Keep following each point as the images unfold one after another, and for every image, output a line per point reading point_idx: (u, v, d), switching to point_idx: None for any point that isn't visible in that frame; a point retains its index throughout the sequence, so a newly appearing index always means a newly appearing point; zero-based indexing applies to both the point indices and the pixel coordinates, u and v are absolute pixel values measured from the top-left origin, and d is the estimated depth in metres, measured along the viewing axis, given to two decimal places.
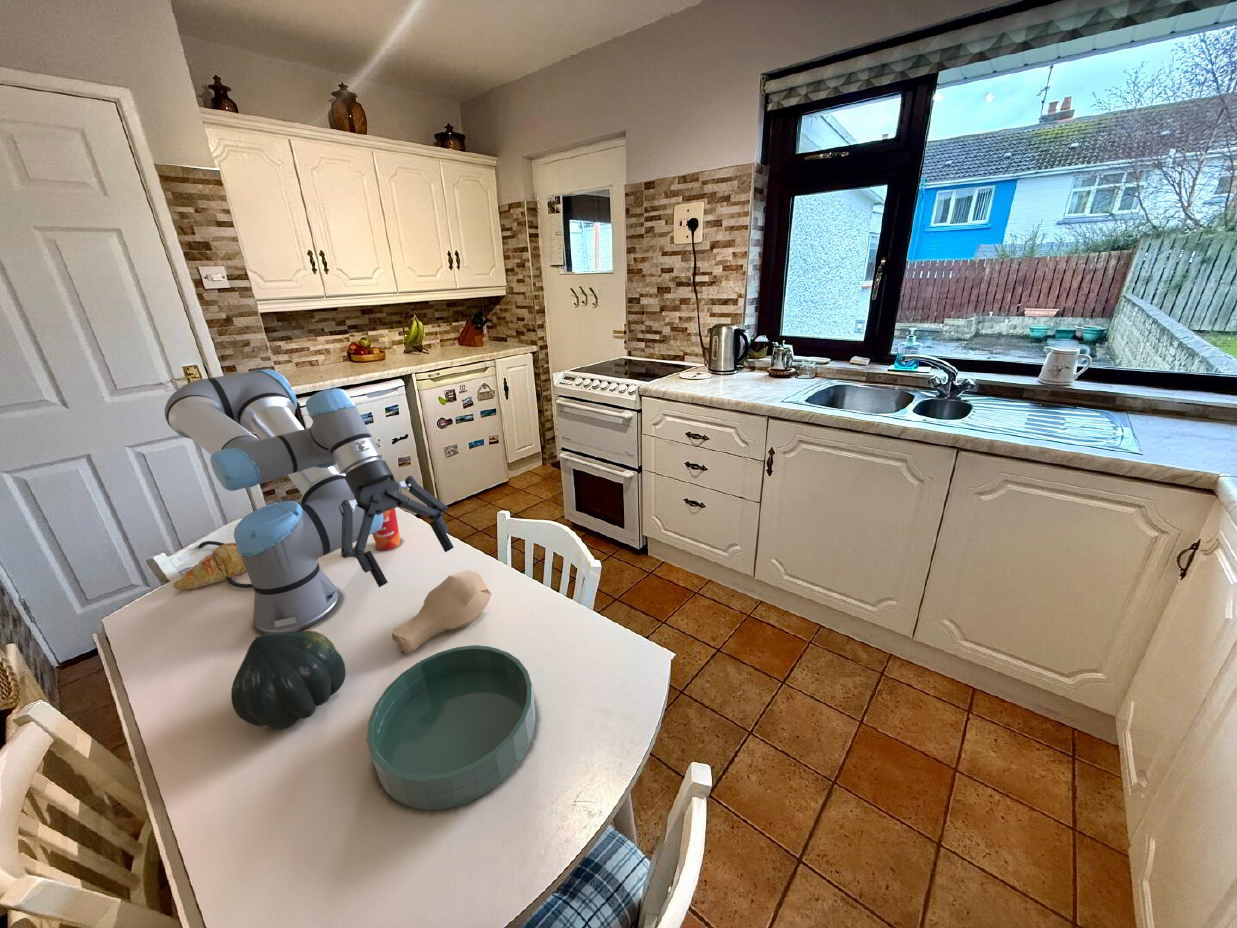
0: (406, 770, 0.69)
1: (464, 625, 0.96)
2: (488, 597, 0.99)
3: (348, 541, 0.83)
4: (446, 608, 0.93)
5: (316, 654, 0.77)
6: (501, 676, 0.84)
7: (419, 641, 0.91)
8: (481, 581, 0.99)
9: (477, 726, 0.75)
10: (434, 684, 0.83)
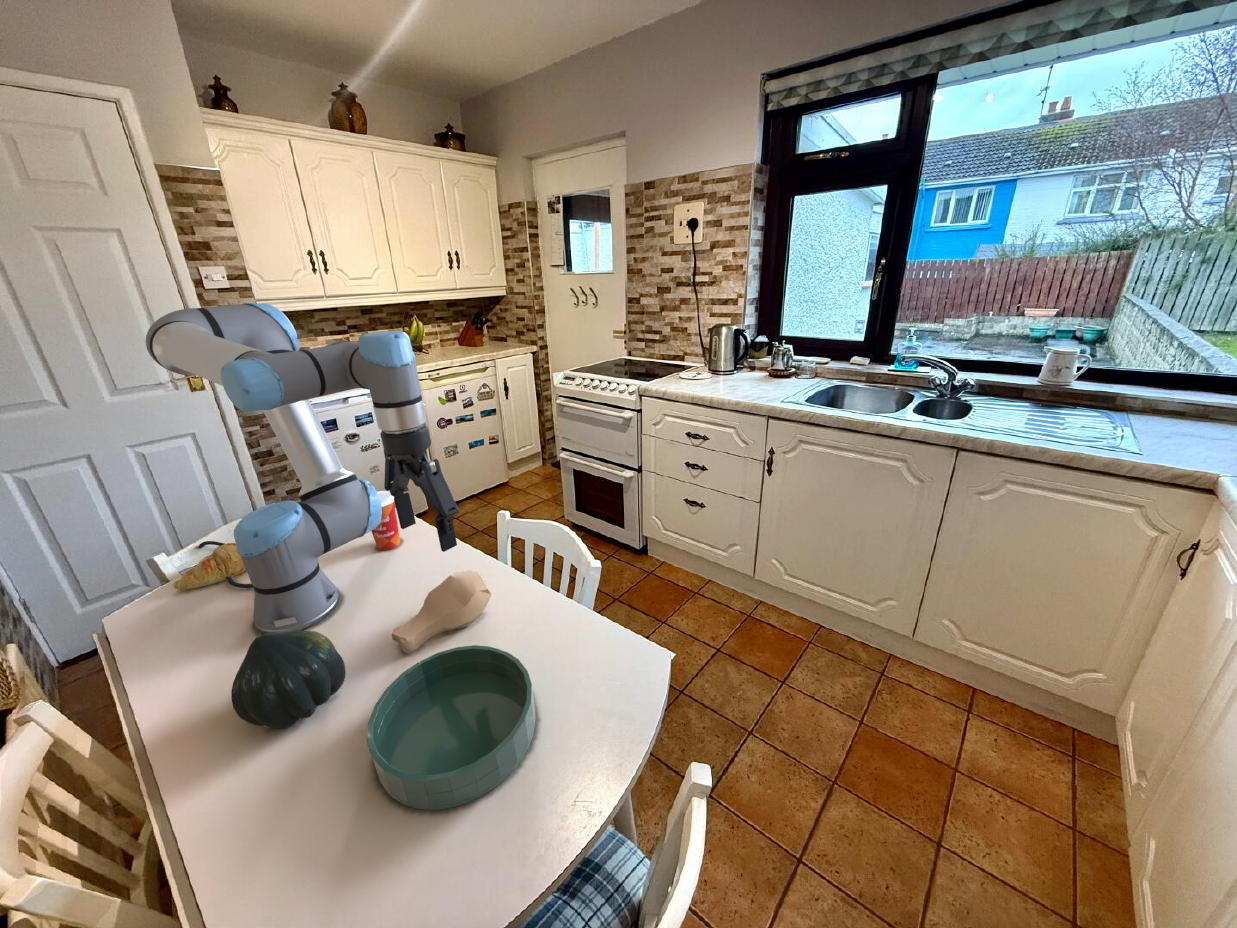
0: (406, 770, 0.69)
1: (464, 625, 0.96)
2: (488, 597, 0.99)
3: None
4: (446, 608, 0.93)
5: (316, 654, 0.77)
6: (501, 676, 0.84)
7: (419, 641, 0.91)
8: (481, 581, 0.99)
9: (477, 726, 0.75)
10: (434, 684, 0.83)
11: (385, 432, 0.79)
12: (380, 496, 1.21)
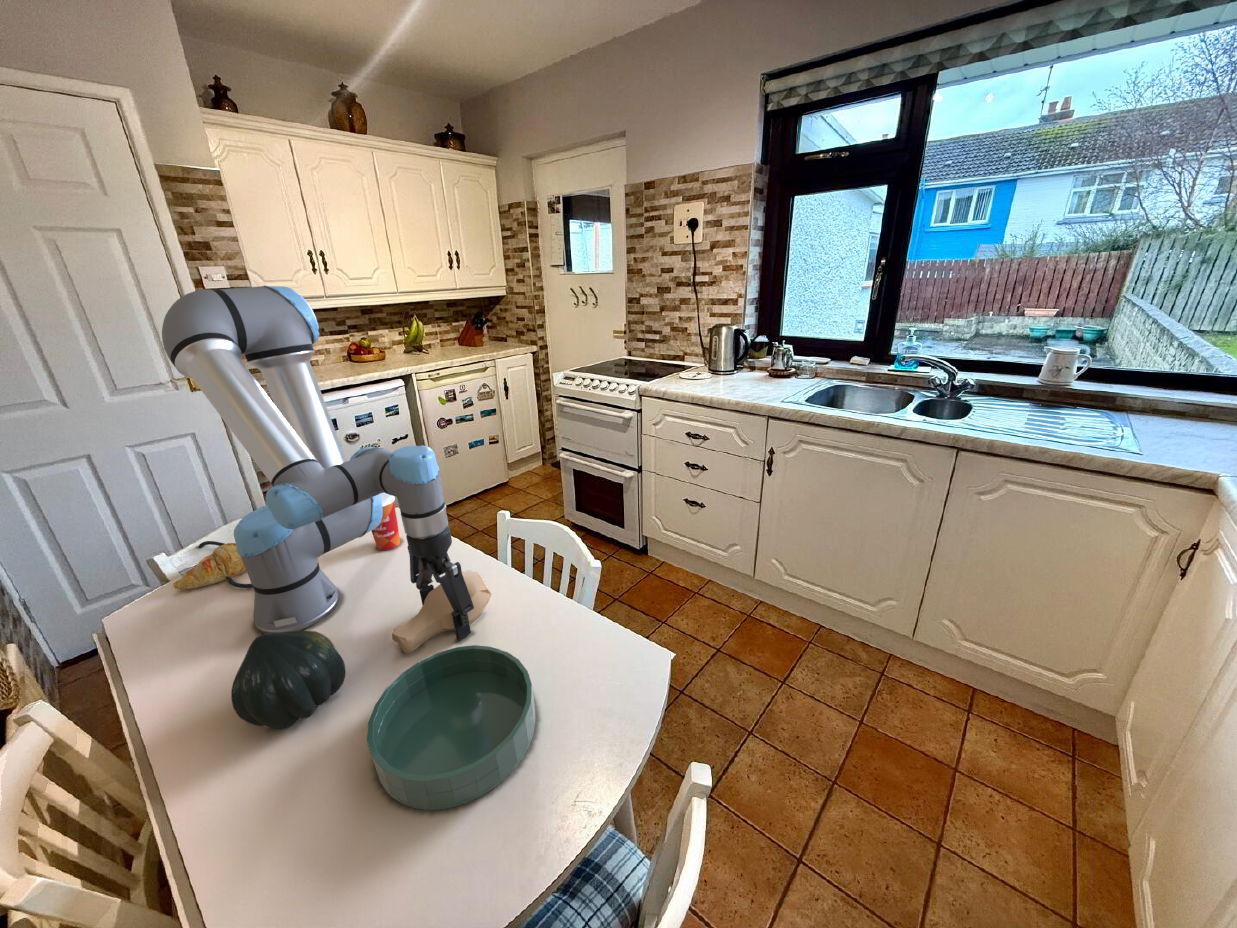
0: (406, 770, 0.69)
1: None
2: (488, 597, 0.99)
3: None
4: (446, 608, 0.93)
5: (316, 654, 0.77)
6: (501, 676, 0.84)
7: (419, 641, 0.91)
8: (481, 581, 0.99)
9: (477, 726, 0.75)
10: (434, 684, 0.83)
11: (411, 536, 0.86)
12: (380, 496, 1.21)
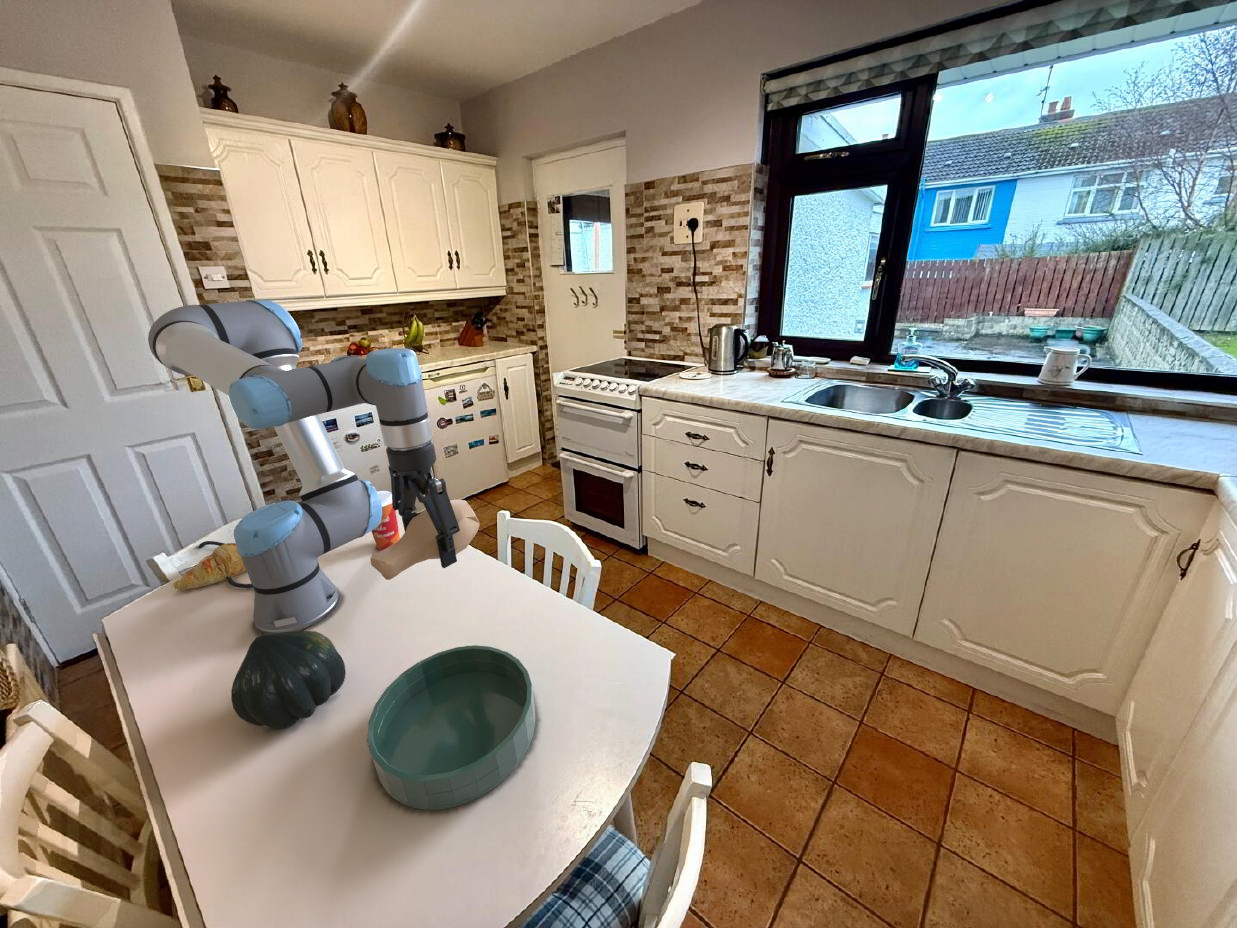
0: (406, 770, 0.69)
1: None
2: (476, 526, 0.92)
3: None
4: (430, 533, 0.86)
5: (316, 654, 0.77)
6: (501, 676, 0.84)
7: (400, 567, 0.84)
8: (469, 508, 0.92)
9: (477, 726, 0.75)
10: (434, 684, 0.83)
11: (391, 449, 0.79)
12: (380, 496, 1.21)
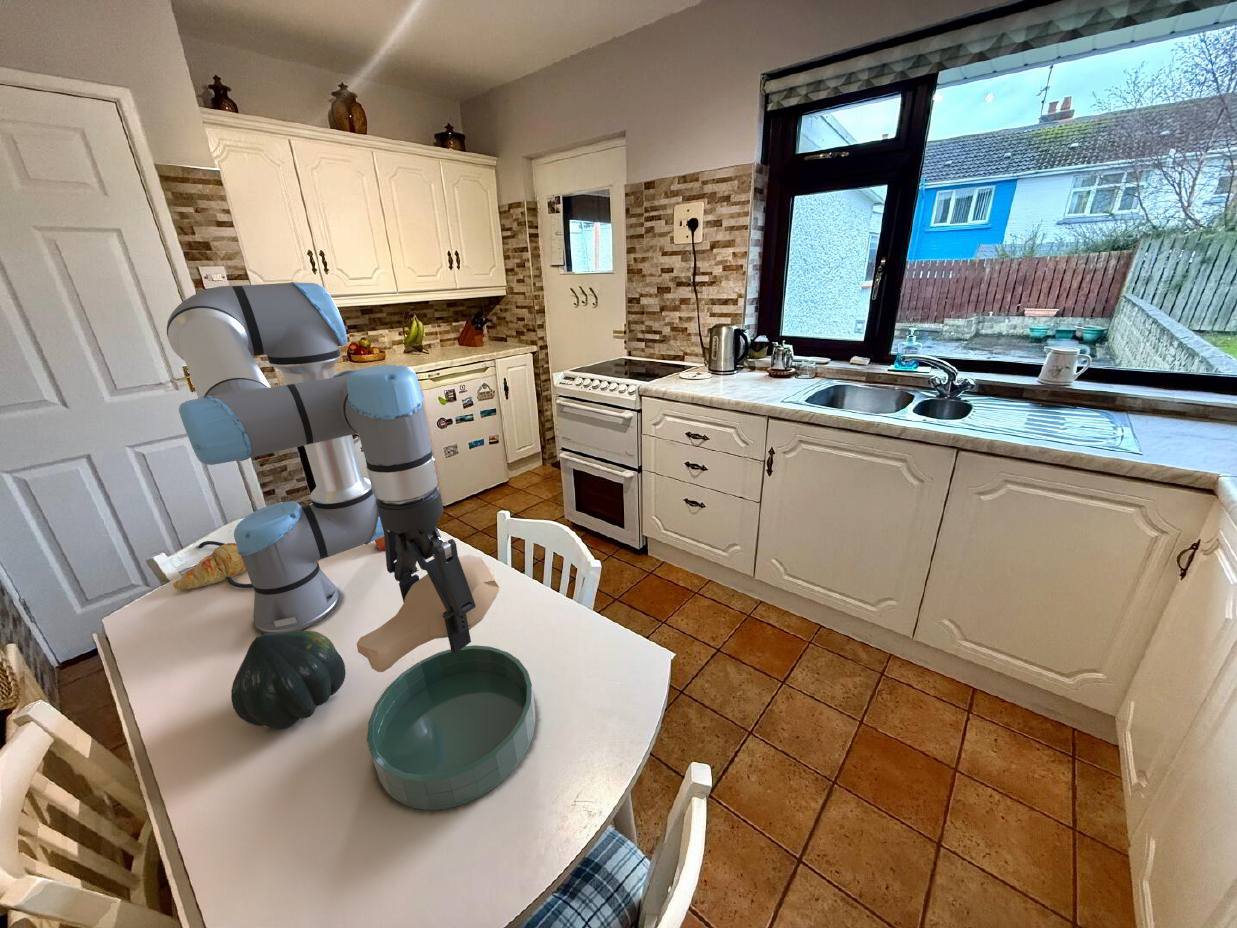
0: (406, 770, 0.69)
1: None
2: (495, 592, 0.71)
3: None
4: (436, 607, 0.66)
5: (316, 654, 0.77)
6: (501, 676, 0.84)
7: (397, 655, 0.63)
8: (485, 569, 0.71)
9: (477, 726, 0.75)
10: (434, 684, 0.83)
11: (383, 501, 0.59)
12: None
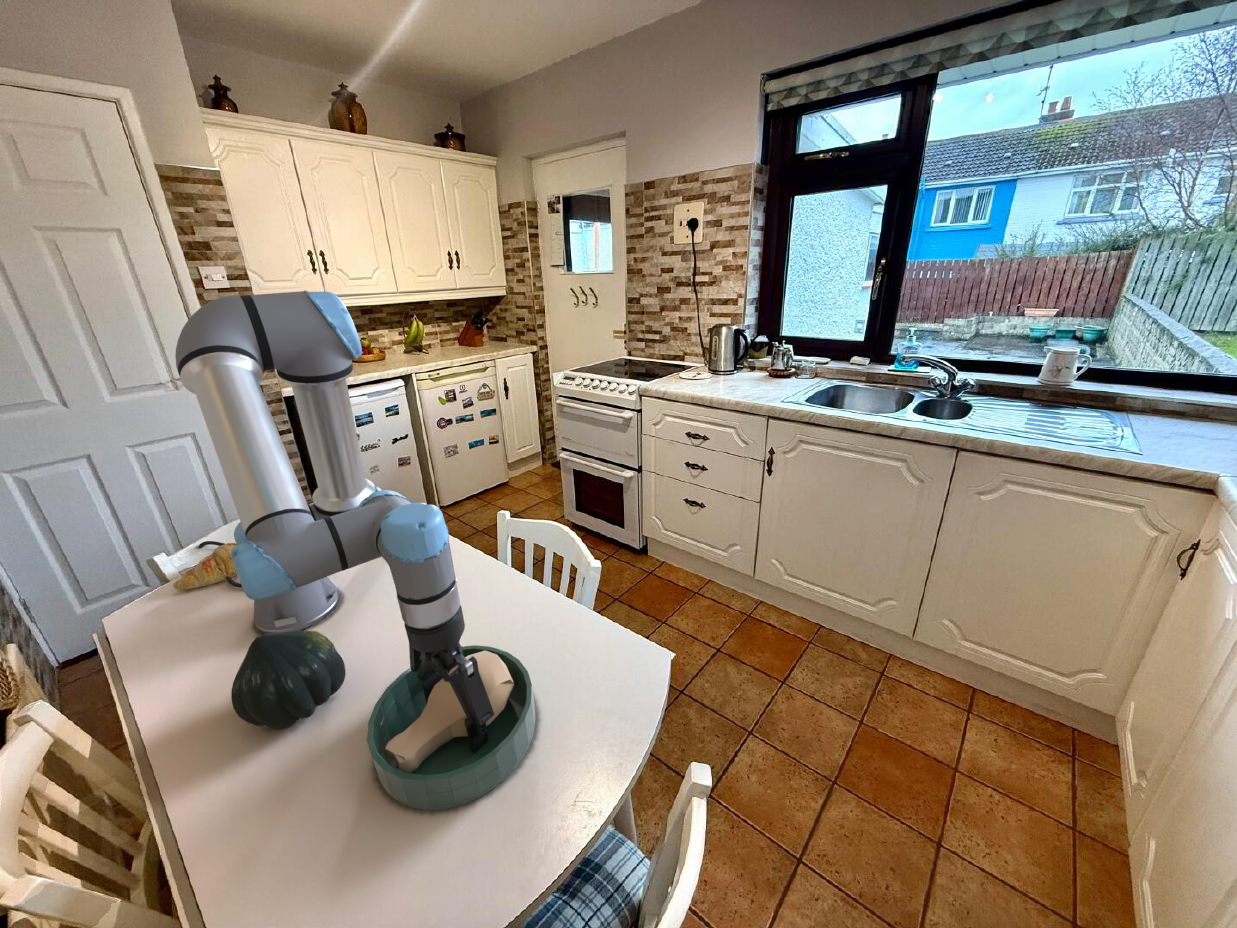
0: None
1: None
2: (510, 689, 0.76)
3: None
4: (457, 710, 0.71)
5: (316, 654, 0.77)
6: None
7: (422, 757, 0.69)
8: (501, 668, 0.76)
9: None
10: None
11: None
12: None
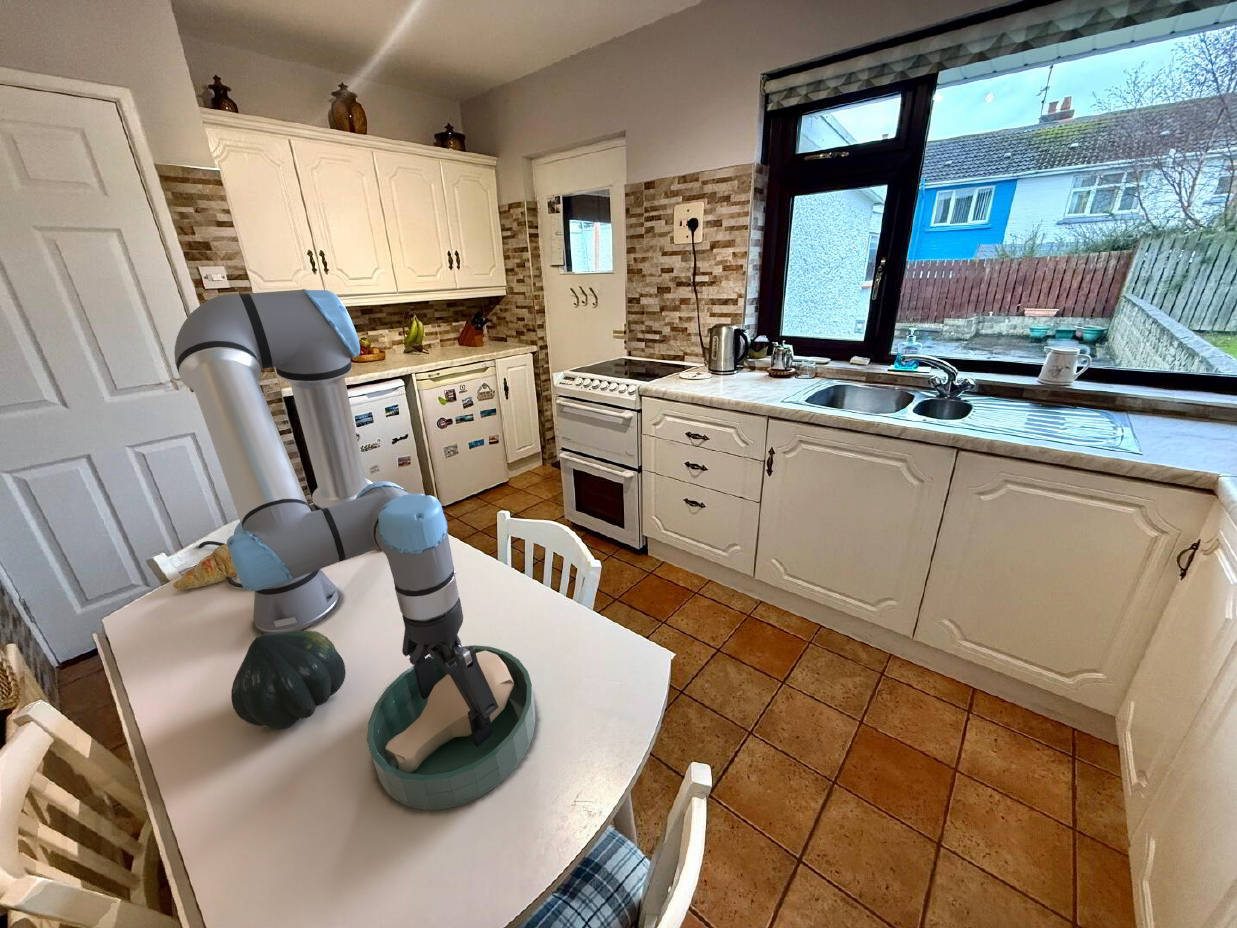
0: None
1: None
2: (510, 689, 0.76)
3: None
4: (457, 710, 0.71)
5: (316, 654, 0.77)
6: None
7: (422, 757, 0.69)
8: (501, 668, 0.76)
9: None
10: None
11: None
12: None
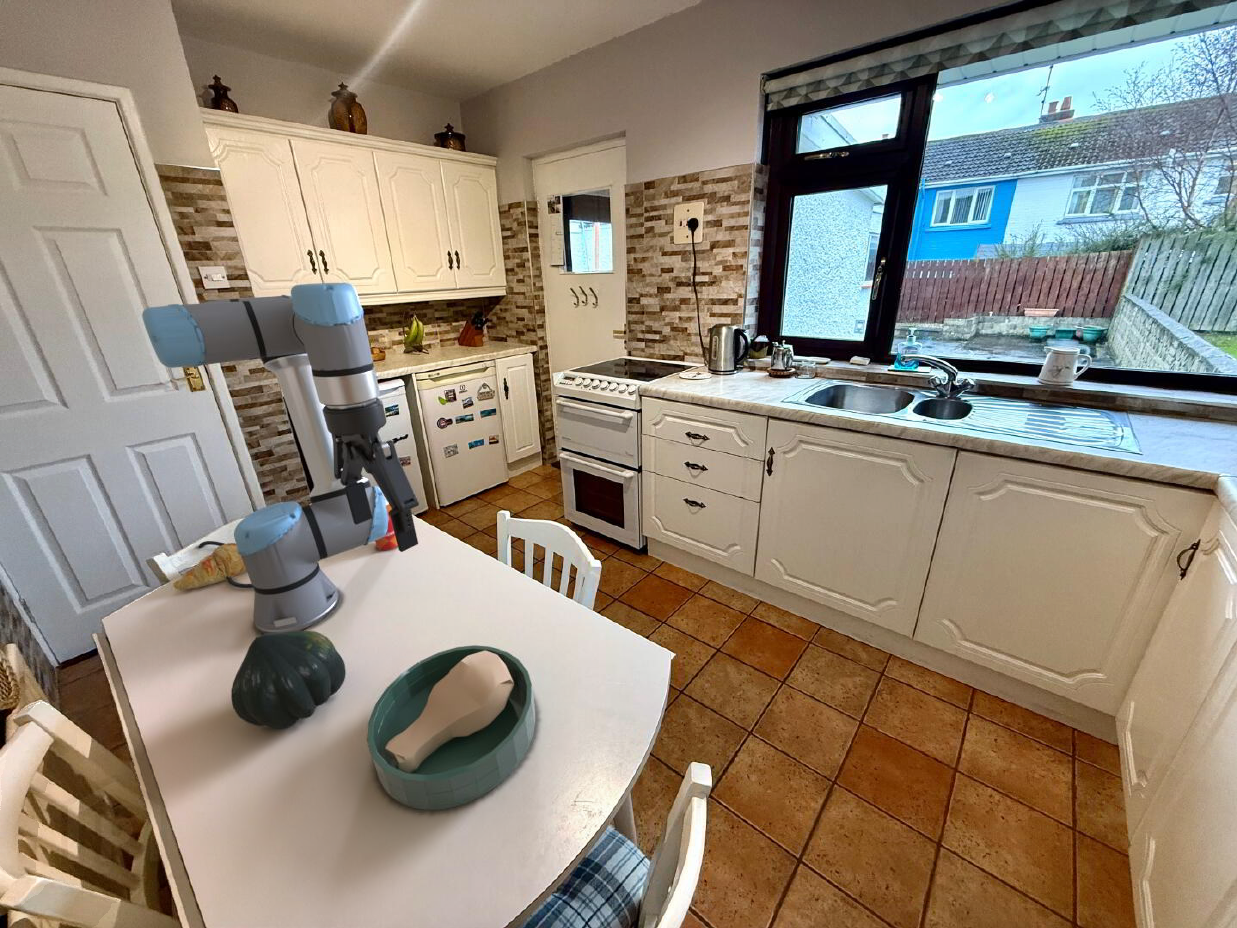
0: None
1: (481, 728, 0.74)
2: (510, 689, 0.76)
3: None
4: (457, 710, 0.71)
5: (316, 654, 0.77)
6: None
7: (422, 757, 0.69)
8: (501, 668, 0.76)
9: None
10: (434, 684, 0.83)
11: (328, 407, 0.65)
12: None
